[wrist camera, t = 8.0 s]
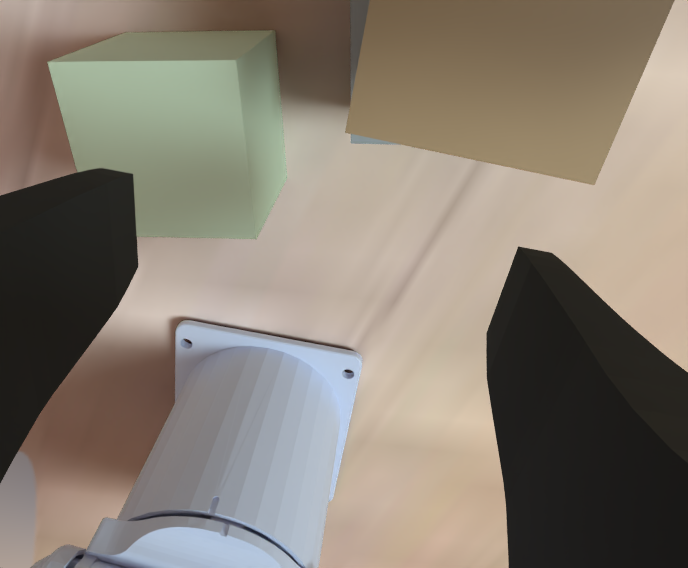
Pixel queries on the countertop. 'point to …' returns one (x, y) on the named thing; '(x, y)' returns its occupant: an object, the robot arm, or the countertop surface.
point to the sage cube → (181, 126)
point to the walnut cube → (504, 78)
